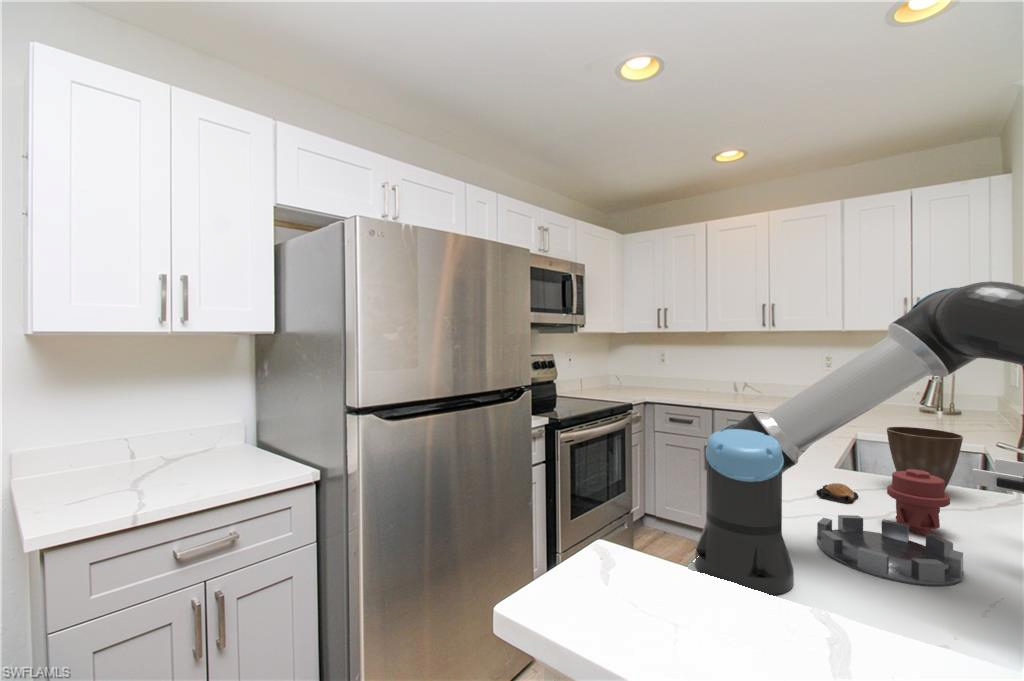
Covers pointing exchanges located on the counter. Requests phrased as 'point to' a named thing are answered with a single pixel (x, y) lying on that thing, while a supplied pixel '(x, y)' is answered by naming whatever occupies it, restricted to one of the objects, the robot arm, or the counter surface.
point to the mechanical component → (918, 499)
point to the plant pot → (925, 450)
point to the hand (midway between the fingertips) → (984, 470)
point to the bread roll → (837, 493)
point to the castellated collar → (891, 552)
